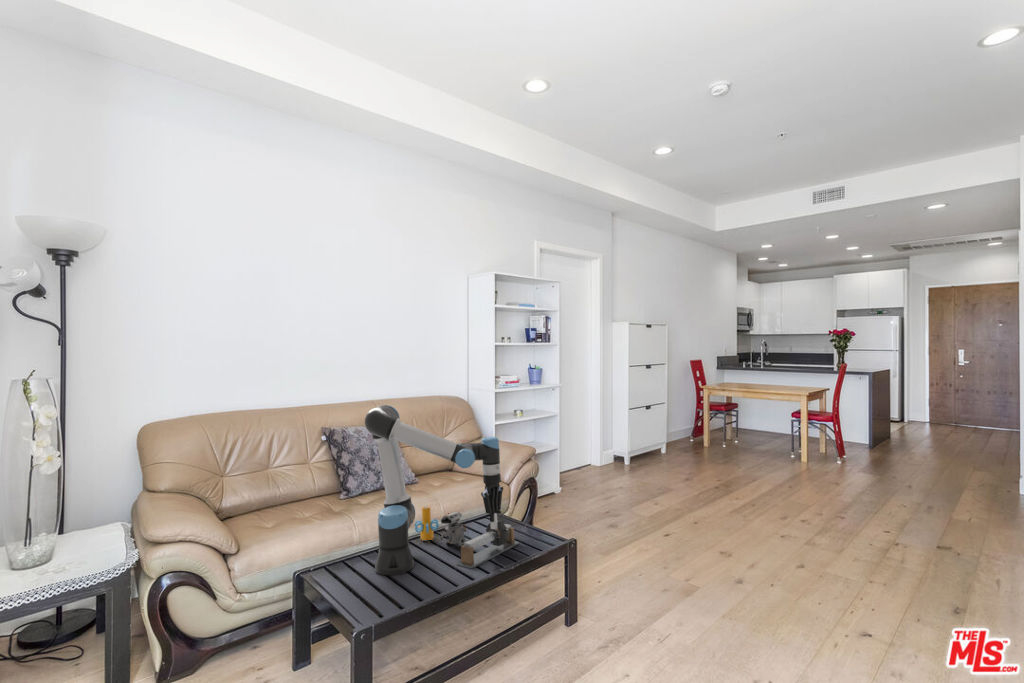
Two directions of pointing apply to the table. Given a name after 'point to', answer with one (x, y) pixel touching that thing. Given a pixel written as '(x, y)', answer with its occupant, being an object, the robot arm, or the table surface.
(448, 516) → the figurine
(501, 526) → the dark gear wheel
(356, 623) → the table surface
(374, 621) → the table surface
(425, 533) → the yellow blue looped tower
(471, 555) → the grey rail stand
